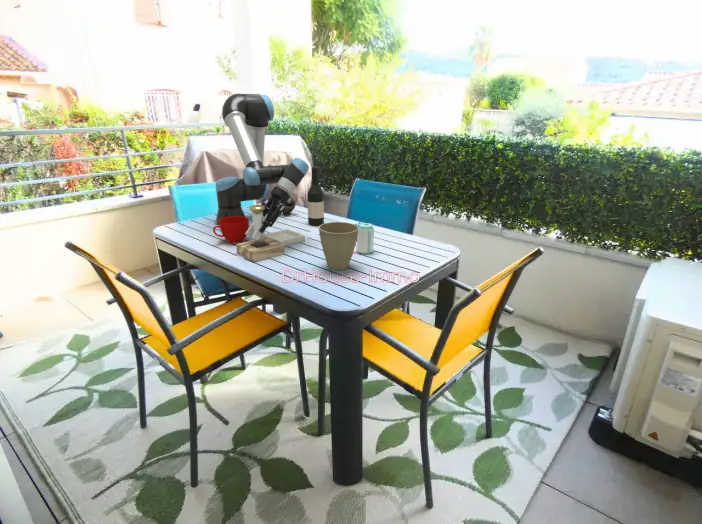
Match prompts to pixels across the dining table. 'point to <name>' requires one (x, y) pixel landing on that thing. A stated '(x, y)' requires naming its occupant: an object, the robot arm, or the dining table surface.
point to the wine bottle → (315, 201)
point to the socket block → (260, 250)
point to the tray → (286, 237)
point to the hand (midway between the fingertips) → (251, 236)
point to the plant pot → (338, 243)
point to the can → (365, 238)
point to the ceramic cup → (233, 228)
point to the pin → (258, 223)
